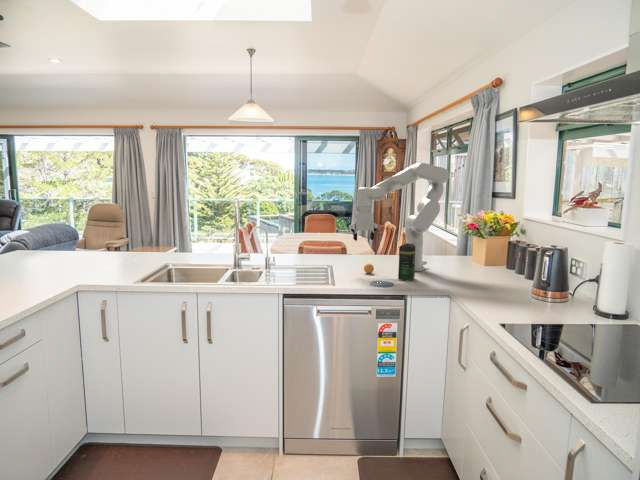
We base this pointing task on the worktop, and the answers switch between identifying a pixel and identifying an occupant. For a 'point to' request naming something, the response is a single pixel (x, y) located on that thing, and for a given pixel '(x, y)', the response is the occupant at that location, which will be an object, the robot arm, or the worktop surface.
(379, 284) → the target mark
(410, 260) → the coffee jar
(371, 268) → the ball
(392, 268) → the worktop surface
